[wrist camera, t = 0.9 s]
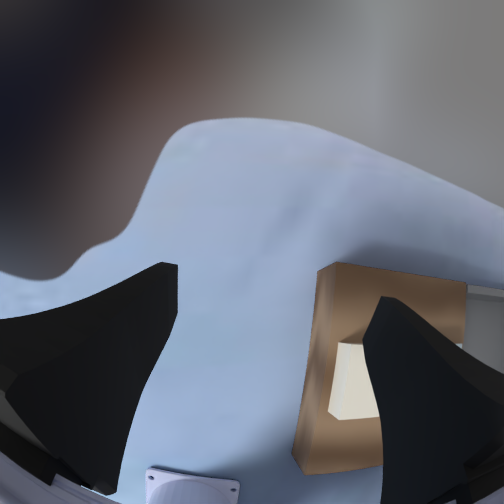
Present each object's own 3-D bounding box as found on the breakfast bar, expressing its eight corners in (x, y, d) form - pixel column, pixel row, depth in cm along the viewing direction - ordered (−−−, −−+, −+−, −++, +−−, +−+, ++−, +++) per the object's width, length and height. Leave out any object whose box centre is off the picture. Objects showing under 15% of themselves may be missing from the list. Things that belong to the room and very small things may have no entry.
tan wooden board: (418, 437, 20) (441, 448, 16) (291, 453, 19) (304, 475, 15) (439, 288, 24) (465, 282, 20) (317, 271, 23) (336, 261, 19)
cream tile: (386, 407, 17) (401, 413, 15) (327, 411, 17) (339, 420, 15) (396, 344, 18) (412, 345, 16) (338, 342, 18) (351, 344, 16)
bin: (502, 408, 22) (519, 411, 18) (419, 437, 20) (439, 446, 17) (515, 298, 25) (532, 294, 22) (440, 288, 24) (463, 283, 21)
